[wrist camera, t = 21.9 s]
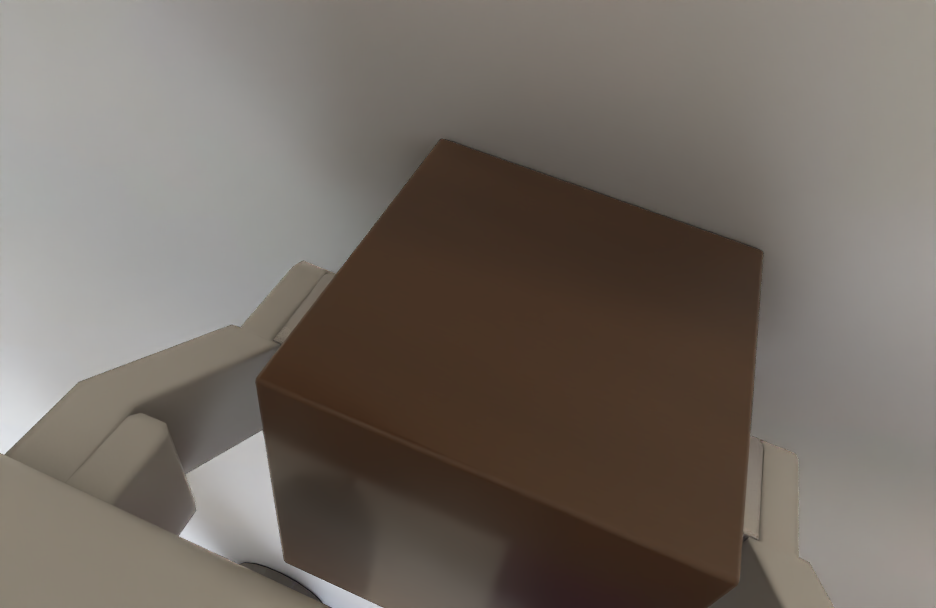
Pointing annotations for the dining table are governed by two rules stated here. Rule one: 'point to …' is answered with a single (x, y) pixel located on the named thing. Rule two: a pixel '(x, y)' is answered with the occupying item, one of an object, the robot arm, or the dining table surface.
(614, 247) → the block
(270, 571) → the beverage cup
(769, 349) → the dining table surface
